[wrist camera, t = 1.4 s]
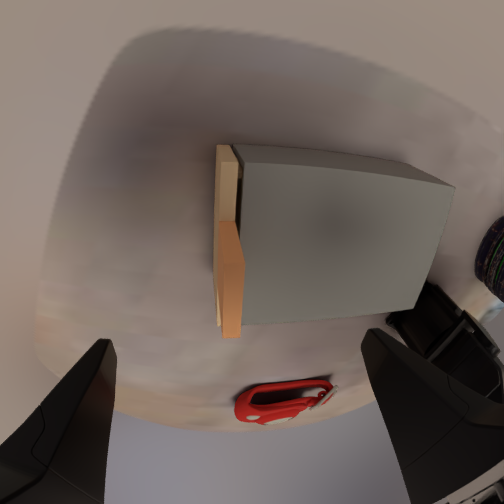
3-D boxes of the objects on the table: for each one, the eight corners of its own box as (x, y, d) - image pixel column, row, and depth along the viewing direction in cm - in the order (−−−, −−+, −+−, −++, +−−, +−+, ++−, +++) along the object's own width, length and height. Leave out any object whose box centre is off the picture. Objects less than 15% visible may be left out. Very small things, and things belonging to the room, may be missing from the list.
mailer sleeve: (406, 163, 21) (455, 187, 16) (379, 268, 26) (413, 308, 20) (233, 144, 18) (244, 162, 13) (226, 273, 23) (234, 325, 18)
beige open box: (403, 163, 20) (491, 210, 12) (375, 271, 25) (433, 344, 17) (216, 144, 18) (227, 185, 10) (213, 276, 23) (222, 376, 14)
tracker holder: (279, 426, 37) (222, 432, 31) (272, 399, 39) (217, 399, 34) (349, 400, 31) (296, 407, 25) (339, 368, 33) (285, 367, 28)
